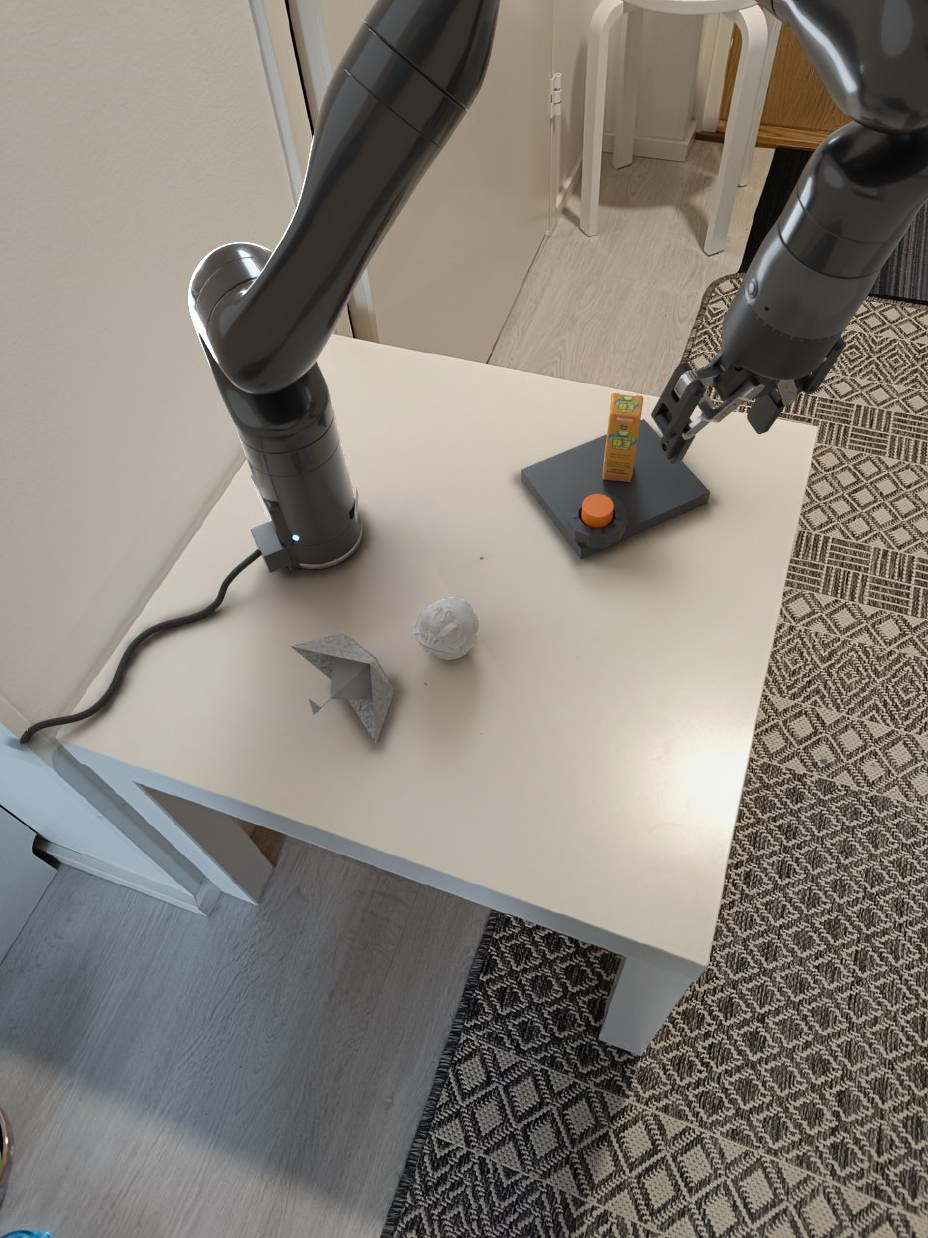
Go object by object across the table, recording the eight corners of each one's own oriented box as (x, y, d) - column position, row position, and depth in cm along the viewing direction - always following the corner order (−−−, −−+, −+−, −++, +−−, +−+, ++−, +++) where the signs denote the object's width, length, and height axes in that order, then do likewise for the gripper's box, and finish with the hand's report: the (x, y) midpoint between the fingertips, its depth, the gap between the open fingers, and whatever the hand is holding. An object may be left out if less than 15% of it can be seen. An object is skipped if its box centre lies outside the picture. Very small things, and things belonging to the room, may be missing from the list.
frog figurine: (405, 665, 88) (396, 626, 83) (439, 612, 92) (433, 571, 86) (460, 689, 87) (455, 650, 81) (492, 634, 90) (490, 593, 84)
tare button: (591, 532, 92) (592, 521, 91) (575, 512, 94) (576, 500, 93) (618, 521, 93) (619, 509, 92) (602, 500, 95) (603, 489, 93)
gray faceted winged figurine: (432, 691, 85) (374, 753, 79) (400, 712, 90) (343, 772, 84) (347, 596, 84) (282, 651, 78) (319, 623, 89) (255, 677, 83)
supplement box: (600, 481, 98) (607, 412, 90) (604, 459, 100) (611, 389, 92) (631, 485, 98) (641, 415, 89) (634, 462, 100) (644, 392, 91)
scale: (585, 566, 94) (586, 545, 91) (520, 480, 101) (520, 457, 98) (713, 509, 97) (719, 486, 94) (642, 429, 105) (645, 406, 102)
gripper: (741, 361, 56) (662, 502, 71) (916, 306, 60) (807, 450, 75) (682, 276, 59) (617, 428, 74) (853, 228, 63) (759, 382, 77)
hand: (713, 439), depth 74 cm, fingers open, 8 cm apart
